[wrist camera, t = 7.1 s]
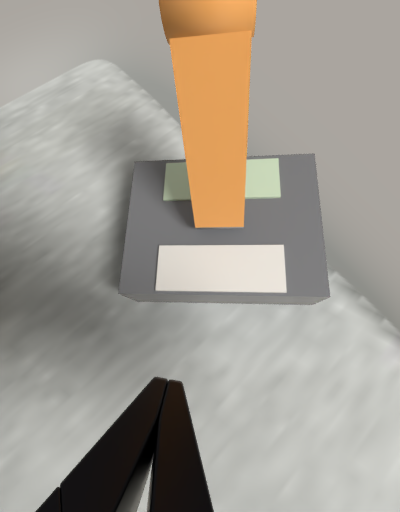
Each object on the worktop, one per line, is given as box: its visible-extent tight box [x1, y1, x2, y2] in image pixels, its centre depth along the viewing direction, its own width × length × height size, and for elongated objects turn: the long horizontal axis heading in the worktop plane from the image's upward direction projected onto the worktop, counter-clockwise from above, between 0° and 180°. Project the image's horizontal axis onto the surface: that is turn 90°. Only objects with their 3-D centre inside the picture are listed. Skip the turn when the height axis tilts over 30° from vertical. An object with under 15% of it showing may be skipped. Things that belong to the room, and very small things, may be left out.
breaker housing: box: [118, 154, 330, 305], centre depth 20 cm, size 10×13×4 cm
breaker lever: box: [159, 0, 257, 229], centre depth 13 cm, size 2×3×12 cm
